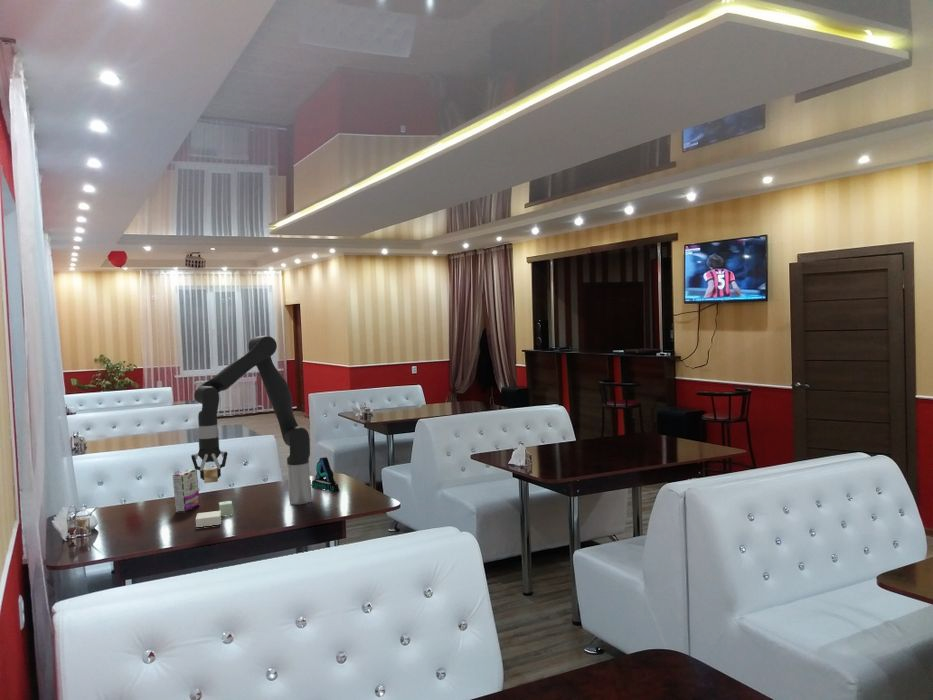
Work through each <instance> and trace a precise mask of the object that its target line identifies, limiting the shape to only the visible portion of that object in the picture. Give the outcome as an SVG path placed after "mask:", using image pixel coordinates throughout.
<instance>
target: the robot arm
mask: <svg viewBox="0 0 933 700" xmlns="http://www.w3.org/2000/svg"><path fill="white" fill-rule="evenodd" d="M247 347H248V351H247V353H246V354H244V355H243V356H241V357H240V358H238V359H236V360H235V361H233V362H231V363H230V364H228V365H226V367H224V368H223V369H222V370H220V371H219V372H218V373H217V374H216V375H215V376H213V377H212V378H210V379H209V380H206V381H205V382H203V383H202V384H201V385H199V386H198V387H197V388H196V390H195V391H194V393H193V395H194V400H195V401H196V402H197V403H199V404H202V405H201V410H200V411H199V412H198V415H197V416H198V417H197V421H198V431H197V433H198V435H197V436H198V453H195V454H191V455H190V456H191V461H192V463H193V466H194V469H196V470H197V471H199V473H200V474H199V476H200V479H202V481H204V470H203V468H205V466H206V463H210V462H211V463H212V462H213V463H214V464H215V467H217V474H218V479H220V477H221V476H222V473H221V469H222V468H224V467H226V463H227V459H228V458H227V457H228V452H227V451H222V450H220V439H219V438H220V436H219V435H220V433H219V427H218V416H217V415H218V410H219V405H220V404H219V403H220V394H219V393H221V392H222V391H226V390H227V389H228V390H229V388H230V387H232V386H233V385H234V384H235V383H237V381H239V380H240V378H241V377H243V376H245V374H247V373H248V372H249V371H250V370H252V369H253V368H255V366H256V368H257V370H258V372H259V375H260V377H261V378H260V379H261V381H262V384H263V385H264V388H265V391H266V394H267V395H266V396H267V398H268V399H269V402H270V405H271V406H272V409H273V411H274V414H275V417H276V419H277V422H278V425H279V428H280V432H281V436H282V441H284V444H286V446H288V447H289V456H288V457H286V465H287V466H286V467H287V481H288V482H287V484H288V497H289V498H288V499H289V500H288V501H289V504H290V505H304V504H308V502H309V503H312V502H313V496H312V495H313V494H312V493H313V492H312V487H311V485H312V480H311V475H310V459H309V458H310V455H311V445H310V444H311V441H310V433H309V431H308V430H307V429H306V428H305V427H301V426H299V424H298V423H297V420H296V418H295V415H294V412H293V397H292V393H291V390H290V388H289V384H288V383H287V381H286V379H285V378H284V377H283V375H282V374H281V373H280V372H279V370H278V368H276V366H275V365H274V362H273V360H272V357H271V356H273V355H274V354H275V353H276V352H277V347H278V346H277V340H275V338H273V337H272V336H269V335H259V336H254V337H252V338H251V339H250V340H249V342H248V346H247ZM220 455H221V458H222V459H221V460H222V461H221V463H220V462H219V461H218V458H219V457H220ZM198 457H199V458H200V459H201V463H200V466H199V465H198V463H197V460H198Z"/></svg>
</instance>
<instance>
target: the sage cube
mask: <svg viewBox="0 0 933 700" xmlns="http://www.w3.org/2000/svg"><path fill="white" fill-rule="evenodd" d="M218 511H221V516H223V517H225V516H224V515H230V516H232V515H231V514H233V515H234V510H233V502H232V500H226V501H219V502H218Z"/></svg>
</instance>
